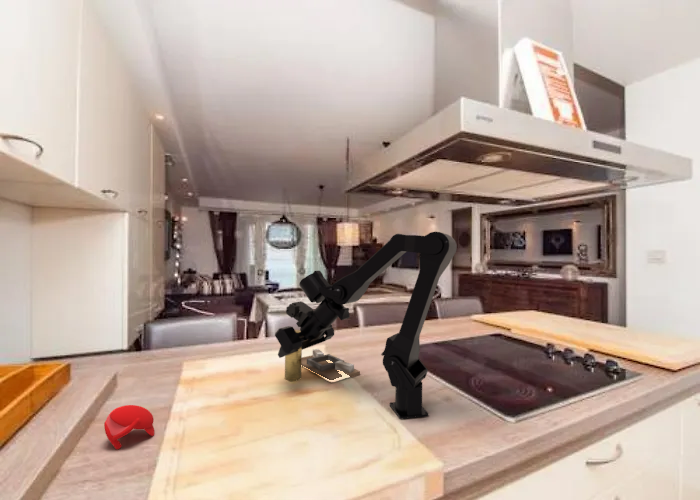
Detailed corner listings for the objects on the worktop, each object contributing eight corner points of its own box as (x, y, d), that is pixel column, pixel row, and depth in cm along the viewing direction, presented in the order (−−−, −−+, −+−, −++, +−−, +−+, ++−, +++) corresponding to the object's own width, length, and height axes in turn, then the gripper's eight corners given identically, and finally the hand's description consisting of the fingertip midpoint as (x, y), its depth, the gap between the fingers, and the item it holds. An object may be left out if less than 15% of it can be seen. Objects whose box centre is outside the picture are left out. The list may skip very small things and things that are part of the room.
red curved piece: (95, 439, 50) (134, 413, 52) (98, 411, 54) (134, 389, 56) (127, 461, 54) (162, 437, 56) (127, 434, 58) (160, 413, 61)
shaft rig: (360, 374, 88) (360, 364, 88) (330, 383, 82) (331, 371, 82) (320, 356, 104) (321, 347, 104) (293, 362, 97) (294, 352, 97)
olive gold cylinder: (301, 380, 83) (302, 333, 84) (284, 381, 82) (286, 333, 82) (300, 374, 87) (301, 329, 88) (284, 375, 86) (285, 330, 87)
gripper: (326, 290, 91) (296, 323, 97) (281, 295, 75) (249, 335, 81) (349, 320, 87) (316, 353, 92) (306, 333, 71) (270, 372, 77)
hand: (289, 352), depth 86 cm, fingers open, 8 cm apart
